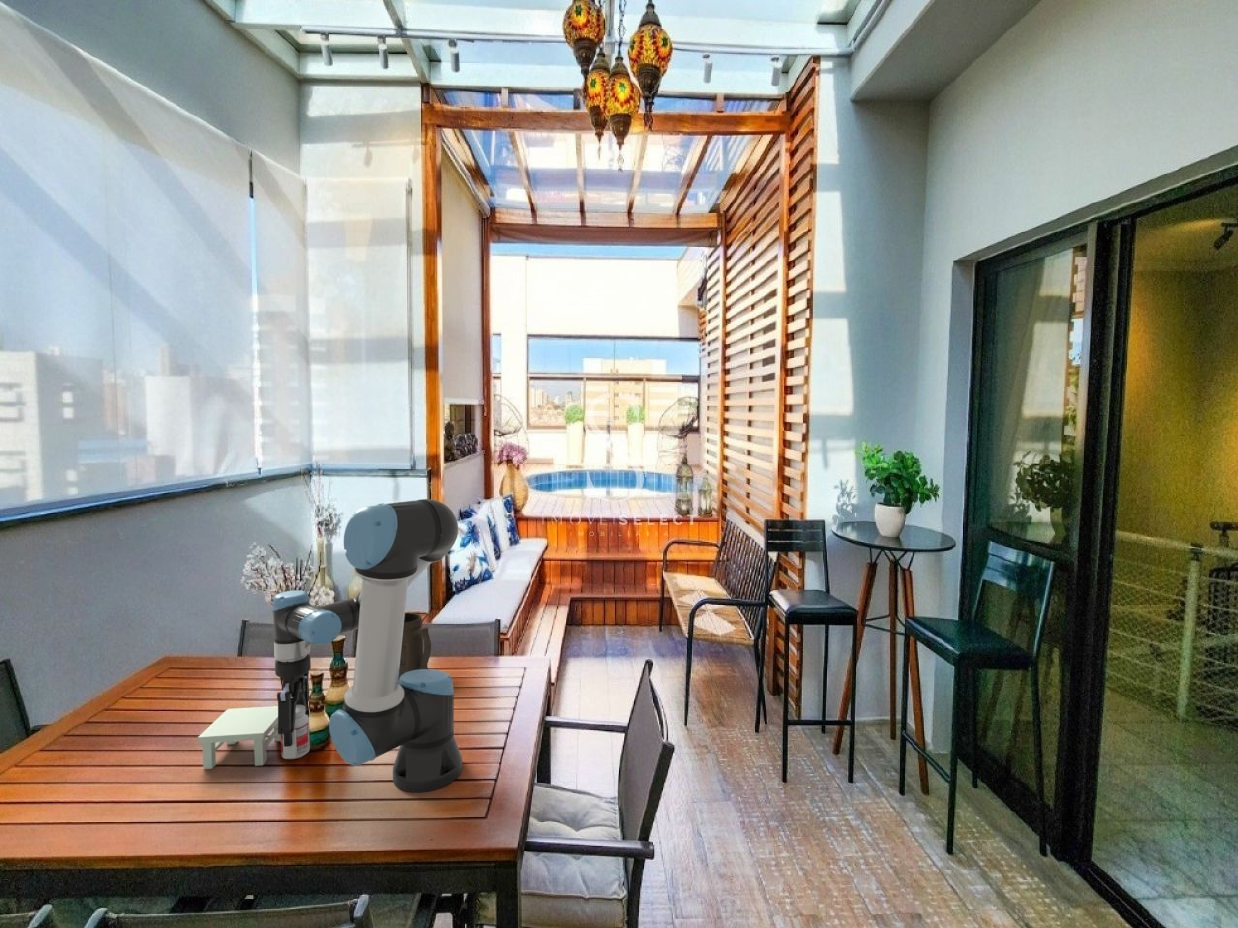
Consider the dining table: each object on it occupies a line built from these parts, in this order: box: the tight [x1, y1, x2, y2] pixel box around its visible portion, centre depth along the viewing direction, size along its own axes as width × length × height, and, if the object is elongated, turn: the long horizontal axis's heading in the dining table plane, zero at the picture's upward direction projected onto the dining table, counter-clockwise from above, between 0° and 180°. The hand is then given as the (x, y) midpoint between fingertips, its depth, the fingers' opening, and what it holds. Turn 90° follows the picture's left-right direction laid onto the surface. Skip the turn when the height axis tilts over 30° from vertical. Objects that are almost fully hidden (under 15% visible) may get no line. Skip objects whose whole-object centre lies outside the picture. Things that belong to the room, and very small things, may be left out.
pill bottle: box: [280, 705, 311, 760], centre depth 147 cm, size 6×6×11 cm
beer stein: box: [398, 612, 432, 684], centre depth 189 cm, size 15×11×20 cm
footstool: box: [197, 705, 281, 770], centre depth 148 cm, size 14×14×8 cm
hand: (295, 749), depth 148 cm, fingers closed on pill bottle, 6 cm apart
